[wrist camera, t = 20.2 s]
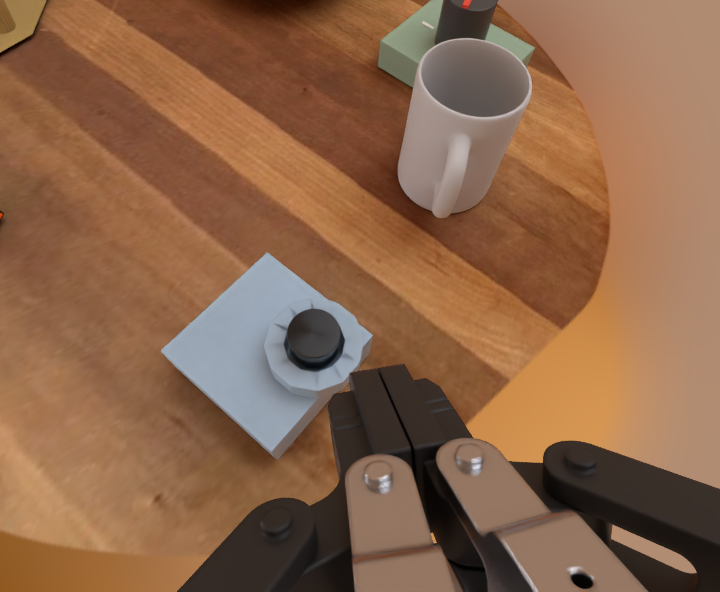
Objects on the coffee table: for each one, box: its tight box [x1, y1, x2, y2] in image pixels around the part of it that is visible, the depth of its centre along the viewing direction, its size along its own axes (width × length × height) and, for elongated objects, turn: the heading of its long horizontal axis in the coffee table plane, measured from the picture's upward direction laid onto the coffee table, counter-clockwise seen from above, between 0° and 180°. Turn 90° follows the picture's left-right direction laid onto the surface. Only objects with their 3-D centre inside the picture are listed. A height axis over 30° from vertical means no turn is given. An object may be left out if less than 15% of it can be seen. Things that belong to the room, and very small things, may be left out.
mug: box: [398, 38, 532, 218], centre depth 39 cm, size 12×8×11 cm
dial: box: [435, 0, 498, 45], centre depth 46 cm, size 5×5×5 cm
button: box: [287, 309, 340, 368], centre depth 30 cm, size 3×3×2 cm
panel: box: [378, 0, 535, 88], centre depth 49 cm, size 12×10×3 cm
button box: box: [161, 253, 373, 460], centre depth 33 cm, size 11×10×6 cm
